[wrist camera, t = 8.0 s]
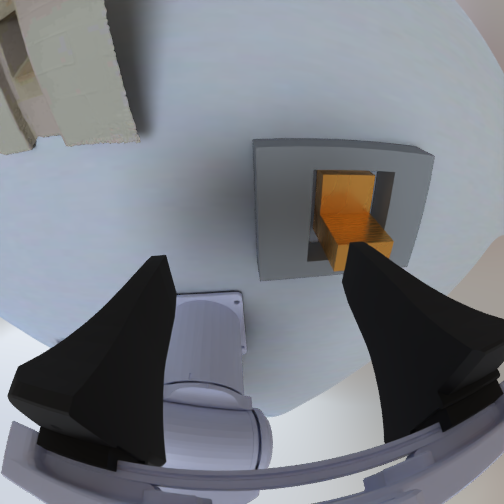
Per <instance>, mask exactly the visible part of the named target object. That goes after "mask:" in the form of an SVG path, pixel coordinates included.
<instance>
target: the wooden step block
mask: <svg viewBox="0 0 504 504" xmlns="http://www.w3.org/2000/svg"><path fill="white" fill-rule="evenodd" d="M374 181H375V175H374V174H372V173H371V172H370V171H364V170H317V179H316V195H315V209H314V221H313V230H314V232H315V234H316V236H317V238H318V240H319V242H320V244H321V246H322V248H323V250H324V252H325V254H326V256H327V258H328V261H329V263H330V265H331V267H332V269H333V271H344V270H345V265H346V259H347V254H348V249H349V243H350V242H362V241H363V242H365V243H367V244H368V245H370V246H371V247H373V248H374V249H376V250H377V251H379V252H380V253H382V254H383V255H384V256H386V257H387V258H390V254H391V251H392V247H393V243H394V241H393V240H392V238H391V237H390V236H389V235H388V234H387V233H386V231H385V230H384V229H383V228H382V227H381V226H380V224H379V223H378V222H377V221H376V220H375V219H374V218H373V216H372V215H371V214H370V213H369V212H370V207H371V201H372V194H373V188H374Z"/></svg>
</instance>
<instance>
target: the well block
mask: <svg viewBox="0 0 504 504" xmlns="http://www.w3.org/2000/svg"><path fill="white" fill-rule="evenodd" d="M434 157H435V156H434V155H432V154H430V153H428V152H426V151H424V150H422V149H420V148H418V147H415V146H407V145H399V144H391V143H381V142H370V141H357V140H339V139H254V140H253V159H254V185H255V211H256V239H257V263H258V270H259V278H260V281H269V280H281V279H293V278H305V277H316V276H327V275H337V274H344V271H333V269H332V267H331V265H330V263H329V261H328V258H327V256H326V254H325V252H324V250H323V248H322V246H321V244H320V242H314V243H309V232H310V220H311V205H312V189H313V170H364V171H378V172H377V180H376V187H375V193H374V199H373V205H372V211H371V215H372V216H373V218H374V219H375V220H376V221H377V222H378V223H379V224H380V226H381V227H382V228H383V229H384V230H385V231H386V233H387V234H388V235H389V236H390V237H391V238H392V240H393V241H394V243H393V247H392V251H391V254H390V258H389V259H390V260H391V261H393V262H394V263H396V264H397V265H398V266H400V267H407V266H408V263H409V260H410V256H411V253H412V250H413V247H414V244H415V240H416V237H417V234H418V230H419V226H420V223H421V219H422V215H423V211H424V207H425V203H426V199H427V194H428V190H429V185H430V180H431V175H432V169H433V163H434Z"/></svg>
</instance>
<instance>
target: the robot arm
mask: <svg viewBox="0 0 504 504" xmlns="http://www.w3.org/2000/svg"><path fill="white" fill-rule="evenodd" d="M342 284H343V287H344V291H345V294H346V297H347V300H348V303H349V306H350V308H351V310H352V313H353V315H354V317H355V320H356V322H357V324H358V326H359V329H360V331H361V333H362V336H363V338H364V340H365V343H366V345H367V348H368V351H369V354H370V357H371V361H372V364H373V368H374V372H375V376H376V381H377V385H378V390H379V395H380V402H381V408H382V417H383V428H384V442H385V444H384V445H380V446H377V447H374V448H371V449H367V450H364V451H360V452H357V453H353V454H349V455H345V456H341V457H337V458H332V459H328V460H323V461H318V462H312V463H307V464H301V465H295V466H286V467H278V468H268V466H269V464H270V461H271V457H272V448H273V440H272V431H271V427H270V424H269V421H268V420H267V418H266V417H265V416H264V414H263V413H262V411H261V410H260V409H258V408H252V400H251V397H250V396H244V385H243V367H242V354H246V353H247V345H246V335H245V324H244V313H243V302H242V294H241V293H239V292H226V293H209V294H190V295H177V293H176V290H175V286H174V283H173V279H172V276H171V272H170V268H169V264H168V261H167V257H166V255H160V256H151V257H150V258H149V259H148V260H147V261H146V262H145V263H144V264H143V265H142V266H141V268H140V269H139V270H138V271H137V272H136V273H135V274H134V275H133V276H132V277H131V279H130V280H129V281H128V282H127V283H126V284H125V285H124V286H123V287H122V288H121V289H120V290H119V291H118V293H117V294H116V295H115V296H114V297H113V298H112V299H111V300H110V301H109V302H108V303H107V304H106V305H105V306H104V307H103V308H102V309H101V310H100V311H98V312H97V313H96V314H95V315H94V316H93V317H92V318H91V319H89V320H88V321H87V322H86V323H85V324H84V325H82V326H81V327H80V328H78V329H77V330H76V331H75V332H73V333H72V334H71V335H69V336H68V337H67V338H65V339H64V340H63V341H61V342H60V343H58V344H57V345H55V346H54V347H52V348H51V349H49V350H47V351H46V352H44V353H43V354H41V355H39V356H37V357H35V358H34V359H32V360H30V361H28V362H26V363H24V364H22V365H20V366H19V367H18V369H17V371H16V374H15V376H14V379H13V381H12V384H11V387H10V390H9V393H8V399H9V401H10V402H11V403H12V405H13V406H14V407H16V408H17V409H18V410H19V411H20V412H22V413H23V414H24V415H25V416H27V417H28V418H30V419H31V420H32V421H34V422H35V423H36V424H38V425H39V426H41V427H40V431H39V432H37V431H35V430H33V429H31V428H28V427H26V426H24V425H22V424H19V423H18V422H15V421H13V422H12V425H11V429H10V433H9V436H8V441H7V445H6V450H5V455H4V460H3V466H2V472H1V473H2V475H3V476H4V477H5V478H7V479H8V480H10V481H12V482H13V483H14V484H16V485H18V486H19V487H21V488H22V489H24V490H25V491H27V492H29V493H30V494H32V495H33V496H35V497H36V498H38V499H39V500H41V501H43V502H44V503H46V504H247V503H248V502H250V501H252V500H253V499H255V498H256V497H257V496H258V495H259V490H266V489H276V488H285V487H293V486H300V485H305V484H311V483H317V482H322V481H326V480H331V479H335V478H340V477H344V476H348V475H351V474H354V473H358V472H362V471H365V470H368V469H372V468H375V467H378V466H381V465H384V464H386V463H389V462H392V461H394V460H397V459H400V458H402V457H405V456H407V455H408V456H407V458H406V460H405V461H403V462H401V463H399V464H397V465H394V466H392V467H389V468H387V469H384V470H383V471H381V472H379V473H377V474H374V475H372V476H369V477H367V478H365V479H364V480H363V482H364V486H365V490H364V491H363V492H360V493H356V494H352V495H349V496H345V497H341V498H337V499H333V500H329V501H323V502H318V503H313V504H444V503H445V502H447V501H448V500H449V499H451V498H452V497H454V496H455V495H456V494H458V493H459V492H460V491H461V490H463V489H464V488H465V487H466V486H468V485H469V484H470V483H471V482H473V481H474V480H475V479H476V478H477V477H479V476H480V475H481V474H482V473H483V472H484V471H485V470H486V469H487V468H489V466H491V465H492V464H493V463H494V462H495V461H496V460H497V459H498V458H499V457H500V456H501V455H502V454H503V453H504V381H503V382H501V383H500V384H499V383H498V381H497V379H498V378H499V377H500V373H499V371H498V369H497V368H498V367H499V366H500V365H501V364H502V363H503V362H504V319H502V318H498V317H495V316H492V315H488V314H486V313H483V312H480V311H478V310H475V309H473V308H470V307H468V306H466V305H464V304H462V303H459V302H457V301H455V300H453V299H451V298H449V297H447V296H446V295H444V294H442V293H440V292H438V291H437V290H435V289H433V288H431V287H430V286H428V285H426V284H425V283H423V282H422V281H420V280H419V279H417V278H416V277H414V276H413V275H411V274H410V273H408V272H407V271H405V270H404V269H403V268H401V267H400V266H398V265H397V264H396V263H394V262H393V261H391V260H390V259H389V258H387V257H386V256H384V255H383V254H382V253H380V252H379V251H377V250H376V249H374V248H373V247H371V246H370V245H368V244H367V243H365V242H363V241H362V242H350V243H349V249H348V254H347V259H346V265H345V270H344V274H343V279H342ZM236 300H238V301H236ZM267 468H268V469H267Z"/></svg>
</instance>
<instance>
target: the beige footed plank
mask: <svg viewBox="0 0 504 504" xmlns="http://www.w3.org/2000/svg"><path fill="white" fill-rule="evenodd" d="M104 2H105V1H103V0H0V153H1V154H4V155H8V153H9V154H12V153H19V152H23V151H29V150H32V149H33V145H34V144H35V142H36V139H37V137H38V136H40V137H45V136H47V137H49V136H53V135H54V136H57V135H61V136H62V138H63V140H64V142H65V144H66V146H71V147H72V146H74V145H81V144H90V145H91V144H96V143H97V144H99V143H100V142H101V143H103V144H104V143H105V142H106V143H107V142H108V143H110V144H111V142H112V143H116V142H117V143H122V142H124V143H128V142H133V141H134V142H136V143H138V142H140V140H139V139H140V137H139V135H137V134H136V133H137V131H136V127H135V126H136V125H135V122H134V121H133V120H134V119H132V118H133V116H132V113H131V112H130V110H129V108H130V107H128V104H129V103H128V100H127V97H126V96H125V95H126V91H125V90H124V87H123V86H124V85H123V83H122V82H123V80H121V78H122V76H121V75H120V68H119V67H118V66H119V65H118V63H117V61H116V59H117V58H116V57H115V56H116V53H115V51H114V45H113V44H112V43H113V41H112V36H111V35H110V31H109V29H110V27H109V26H108V25H107V22H108V20H107V19H106V17H107V16H106V13H107V9H106V8H105V5H104ZM18 151H19V152H18Z"/></svg>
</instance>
